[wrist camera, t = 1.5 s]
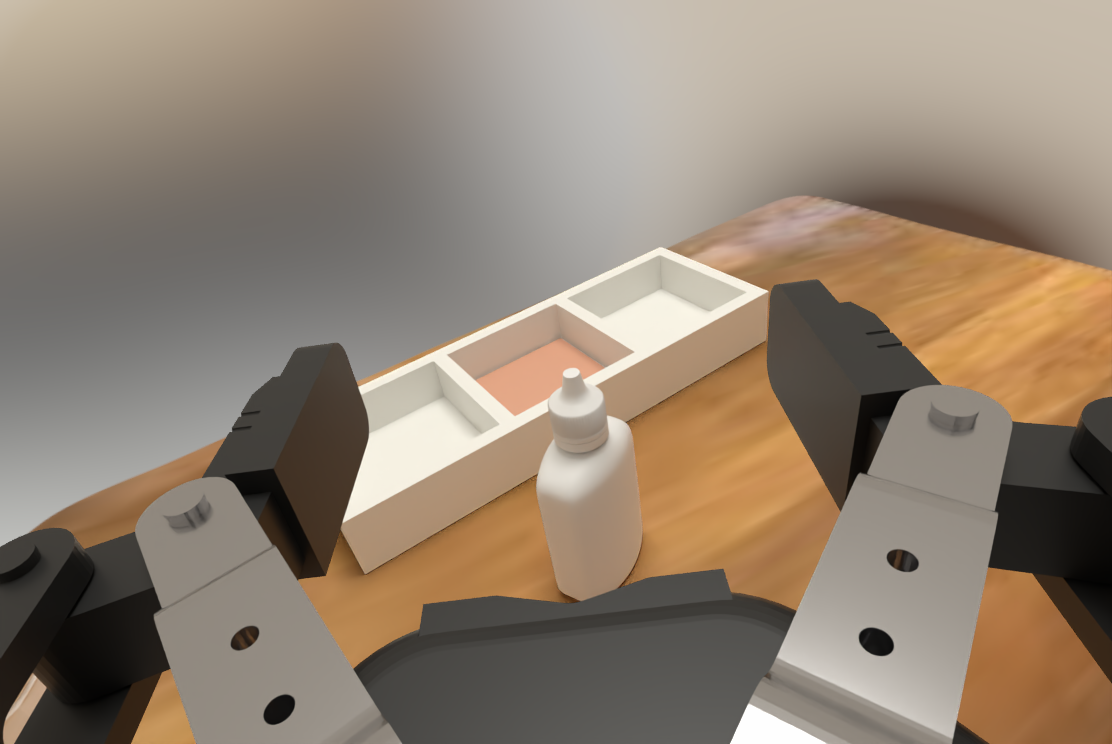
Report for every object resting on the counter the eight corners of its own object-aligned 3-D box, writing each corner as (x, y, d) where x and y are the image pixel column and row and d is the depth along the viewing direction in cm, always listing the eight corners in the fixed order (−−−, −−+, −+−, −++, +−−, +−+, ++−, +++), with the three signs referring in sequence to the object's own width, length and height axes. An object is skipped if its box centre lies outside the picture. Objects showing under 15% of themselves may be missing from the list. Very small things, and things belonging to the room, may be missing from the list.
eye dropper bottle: (535, 558, 34) (487, 375, 28) (624, 510, 36) (600, 326, 29) (576, 619, 31) (535, 428, 24) (672, 563, 33) (659, 370, 26)
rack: (663, 290, 55) (660, 247, 53) (766, 340, 47) (768, 291, 45) (307, 468, 43) (283, 421, 41) (365, 574, 35) (340, 524, 33)
